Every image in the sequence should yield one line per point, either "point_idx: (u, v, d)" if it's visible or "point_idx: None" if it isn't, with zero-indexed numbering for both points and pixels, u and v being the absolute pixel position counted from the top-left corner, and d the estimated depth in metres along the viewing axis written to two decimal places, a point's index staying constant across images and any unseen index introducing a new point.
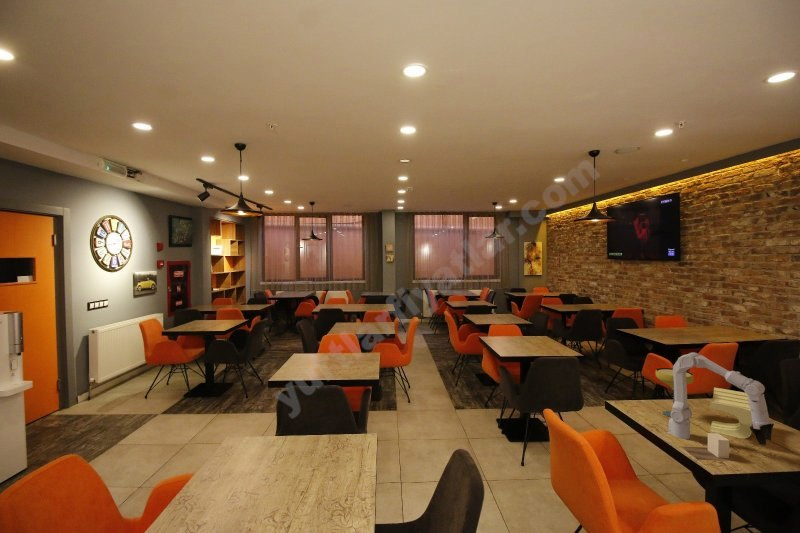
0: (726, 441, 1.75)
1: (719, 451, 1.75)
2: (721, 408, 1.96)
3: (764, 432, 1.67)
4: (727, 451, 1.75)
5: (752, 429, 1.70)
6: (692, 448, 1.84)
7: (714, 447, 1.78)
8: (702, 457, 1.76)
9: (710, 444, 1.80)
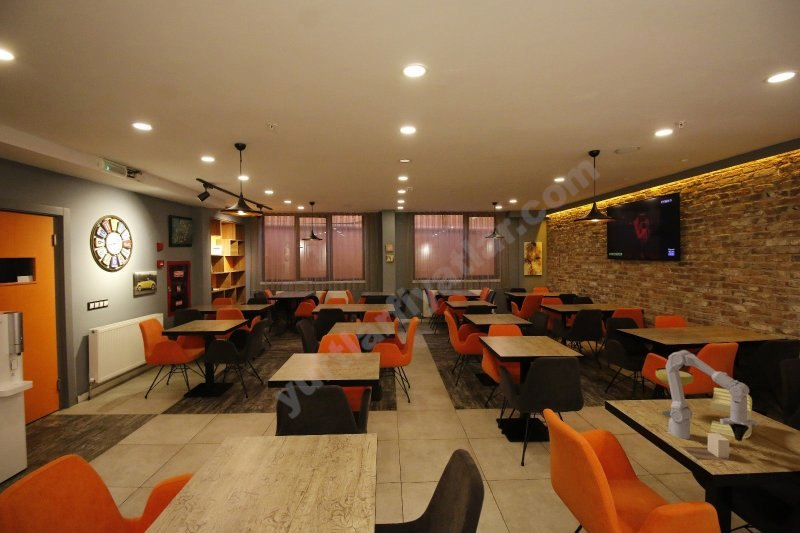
0: (726, 441, 1.75)
1: (719, 451, 1.75)
2: (721, 408, 1.96)
3: (736, 429, 1.76)
4: (727, 451, 1.75)
5: (729, 424, 1.80)
6: (692, 448, 1.84)
7: (714, 447, 1.78)
8: (702, 457, 1.76)
9: (710, 444, 1.80)
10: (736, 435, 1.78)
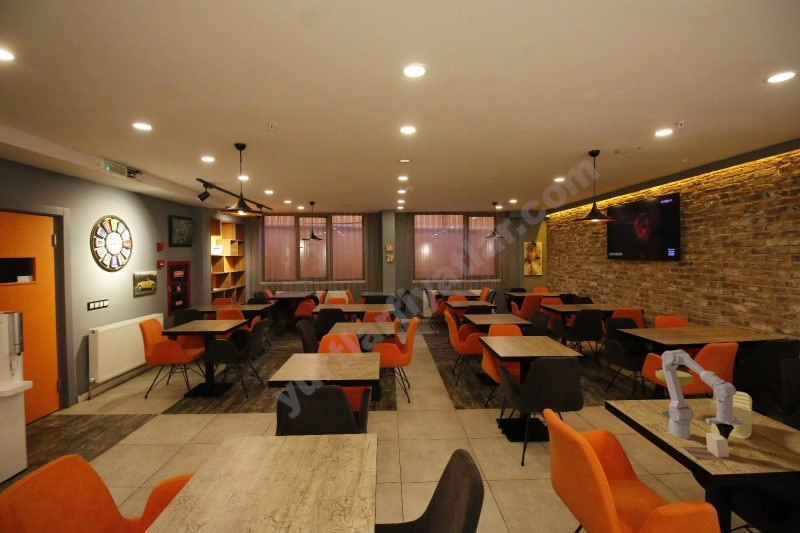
0: (724, 440, 1.75)
1: (719, 451, 1.75)
2: None
3: (722, 428, 1.77)
4: (726, 450, 1.75)
5: (715, 423, 1.80)
6: (692, 448, 1.84)
7: (713, 447, 1.78)
8: (702, 457, 1.76)
9: (710, 444, 1.80)
10: (722, 435, 1.78)
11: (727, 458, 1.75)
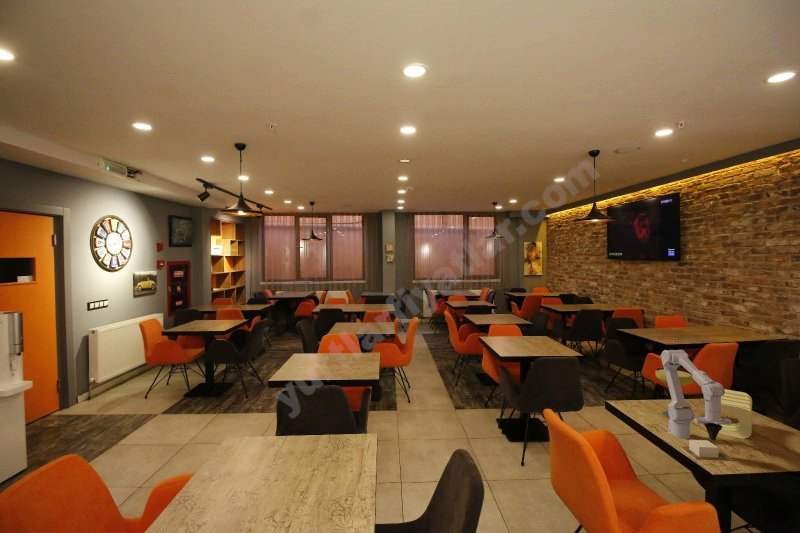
0: (700, 449, 1.76)
1: (711, 456, 1.76)
2: (721, 408, 1.96)
3: (710, 428, 1.77)
4: (710, 448, 1.76)
5: (704, 423, 1.81)
6: None
7: None
8: (702, 457, 1.76)
9: None
10: (710, 434, 1.79)
11: (727, 458, 1.75)
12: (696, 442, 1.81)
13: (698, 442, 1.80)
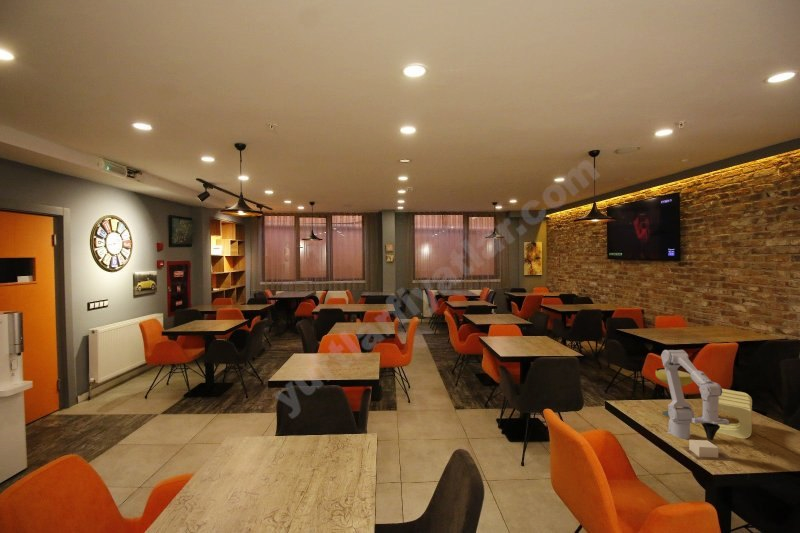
0: (700, 449, 1.76)
1: (711, 456, 1.76)
2: (721, 408, 1.96)
3: (708, 428, 1.77)
4: (710, 448, 1.76)
5: (701, 423, 1.81)
6: None
7: None
8: (702, 457, 1.76)
9: None
10: (708, 434, 1.79)
11: (727, 458, 1.75)
12: (696, 442, 1.81)
13: (698, 442, 1.80)
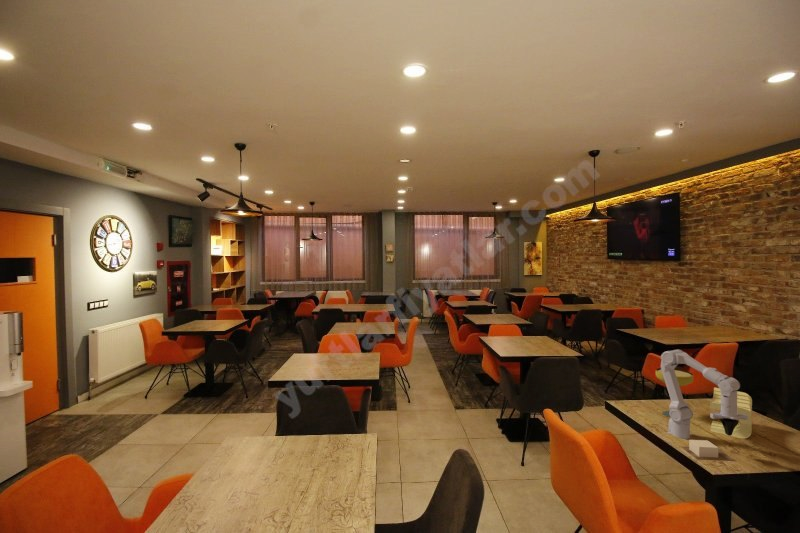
0: (700, 449, 1.76)
1: (711, 456, 1.76)
2: None
3: (726, 423, 1.77)
4: (710, 448, 1.76)
5: (719, 418, 1.81)
6: None
7: None
8: (702, 457, 1.76)
9: None
10: (726, 429, 1.79)
11: (727, 458, 1.75)
12: (696, 442, 1.81)
13: (698, 442, 1.80)
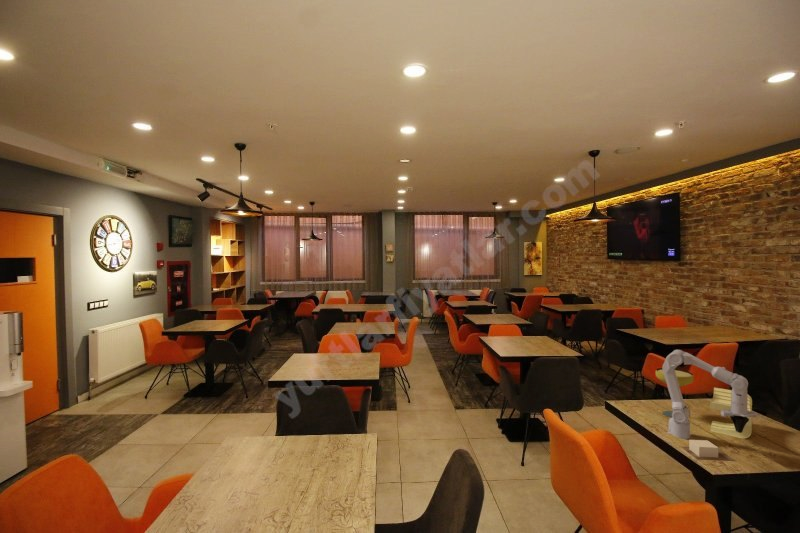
0: (700, 449, 1.76)
1: (711, 456, 1.76)
2: (721, 408, 1.96)
3: (737, 420, 1.80)
4: (710, 448, 1.76)
5: (730, 416, 1.83)
6: None
7: None
8: (702, 457, 1.76)
9: None
10: (736, 427, 1.82)
11: (727, 458, 1.75)
12: (696, 442, 1.81)
13: (698, 442, 1.80)
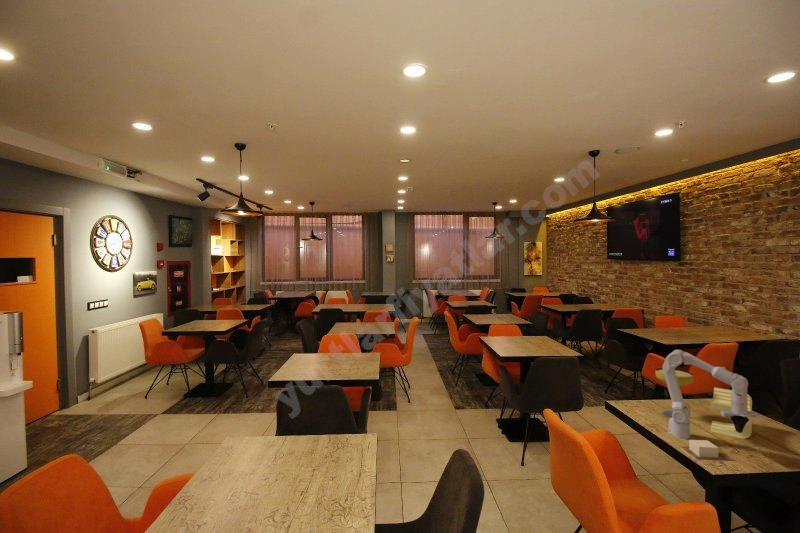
0: (700, 449, 1.76)
1: (711, 456, 1.76)
2: (721, 408, 1.96)
3: (737, 420, 1.80)
4: (710, 448, 1.76)
5: (730, 416, 1.83)
6: None
7: None
8: (702, 457, 1.76)
9: None
10: (736, 427, 1.82)
11: (727, 458, 1.75)
12: (696, 442, 1.81)
13: (698, 442, 1.80)
